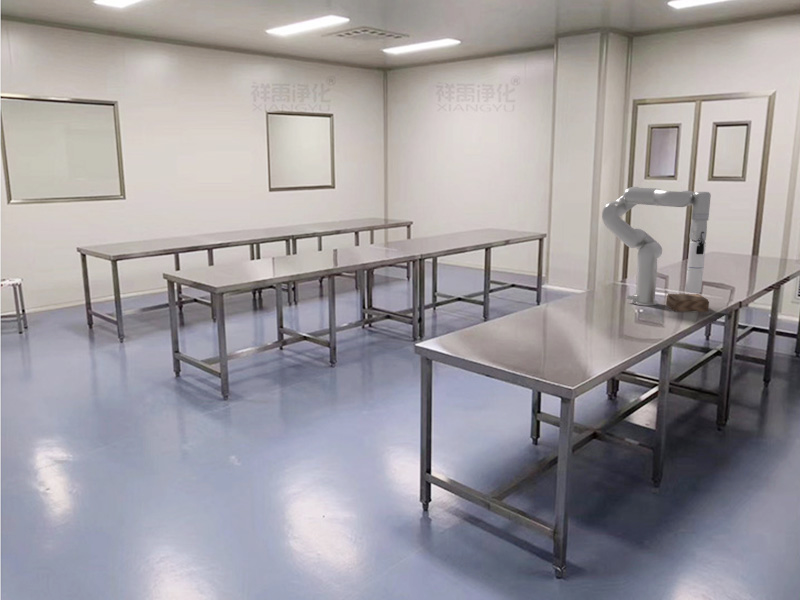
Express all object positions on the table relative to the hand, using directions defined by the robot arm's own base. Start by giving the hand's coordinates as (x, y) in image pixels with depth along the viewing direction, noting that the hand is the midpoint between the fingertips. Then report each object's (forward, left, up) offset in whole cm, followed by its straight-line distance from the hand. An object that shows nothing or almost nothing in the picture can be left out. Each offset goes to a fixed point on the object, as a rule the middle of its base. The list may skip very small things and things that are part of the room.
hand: (696, 252), depth 314 cm
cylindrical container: (0, 0, -20) cm, 20 cm away
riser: (-2, +1, -29) cm, 29 cm away
